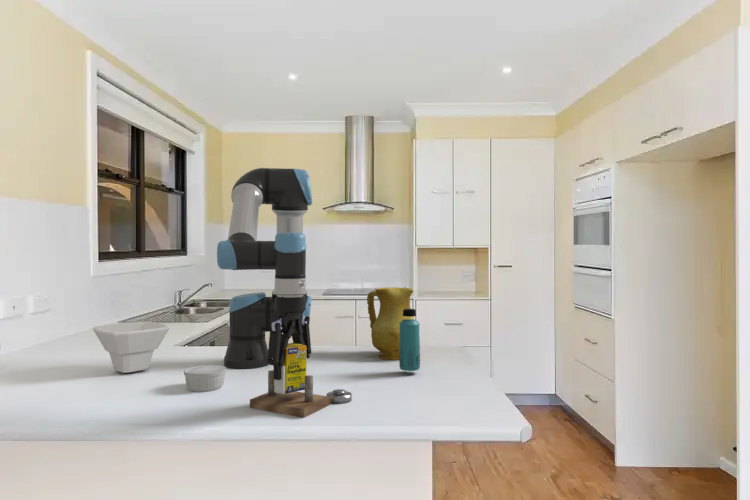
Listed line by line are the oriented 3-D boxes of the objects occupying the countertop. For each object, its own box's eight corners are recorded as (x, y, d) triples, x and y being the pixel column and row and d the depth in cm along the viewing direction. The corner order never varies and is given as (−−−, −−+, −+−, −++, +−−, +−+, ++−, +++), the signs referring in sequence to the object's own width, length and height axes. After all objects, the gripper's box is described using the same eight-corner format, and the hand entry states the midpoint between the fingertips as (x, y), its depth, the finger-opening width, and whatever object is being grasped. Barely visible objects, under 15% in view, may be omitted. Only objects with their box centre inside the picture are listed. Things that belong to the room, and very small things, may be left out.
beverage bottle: (418, 376, 159) (419, 310, 158) (397, 375, 160) (397, 309, 160) (421, 371, 165) (421, 307, 165) (400, 370, 166) (400, 307, 166)
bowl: (175, 371, 165) (175, 326, 165) (110, 382, 151) (110, 334, 150) (149, 361, 178) (149, 320, 177) (87, 371, 163) (86, 327, 163)
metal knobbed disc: (321, 401, 133) (321, 392, 133) (334, 395, 139) (334, 386, 139) (343, 405, 130) (343, 395, 130) (356, 398, 136) (356, 389, 136)
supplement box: (286, 394, 125) (286, 348, 125) (273, 389, 129) (273, 344, 129) (307, 389, 129) (307, 345, 129) (293, 384, 133) (293, 341, 133)
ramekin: (182, 384, 149) (182, 366, 149) (223, 381, 153) (223, 363, 153) (185, 395, 139) (185, 375, 139) (228, 390, 143) (228, 371, 143)
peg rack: (249, 407, 128) (249, 374, 128) (277, 396, 138) (277, 365, 138) (304, 417, 121) (304, 382, 121) (329, 404, 130) (329, 372, 130)
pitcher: (385, 362, 175) (386, 287, 176) (361, 355, 192) (361, 286, 193) (429, 359, 183) (429, 287, 184) (401, 352, 200) (402, 286, 201)
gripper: (276, 300, 118) (276, 401, 118) (325, 292, 136) (325, 380, 137) (250, 298, 122) (250, 397, 122) (301, 291, 140) (301, 377, 140)
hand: (290, 388), depth 129 cm, fingers closed on supplement box, 7 cm apart
